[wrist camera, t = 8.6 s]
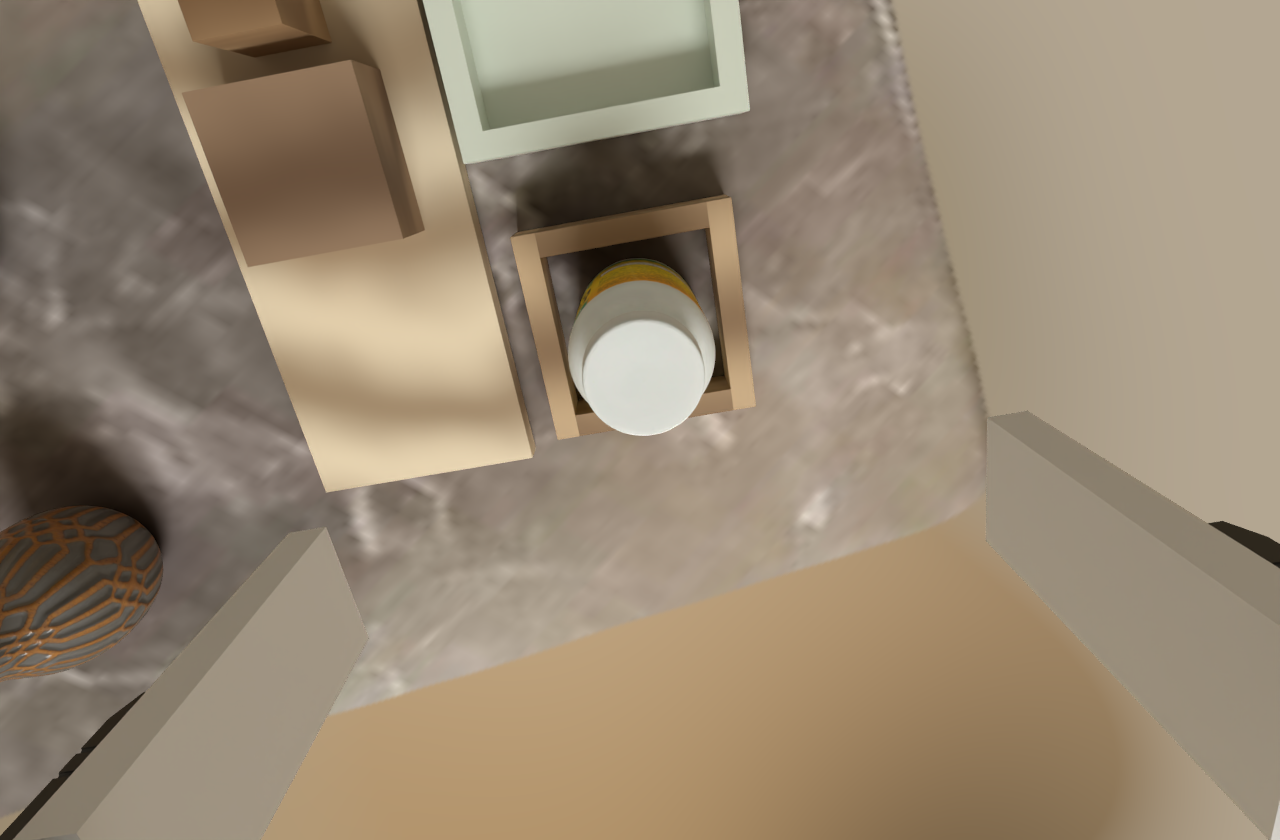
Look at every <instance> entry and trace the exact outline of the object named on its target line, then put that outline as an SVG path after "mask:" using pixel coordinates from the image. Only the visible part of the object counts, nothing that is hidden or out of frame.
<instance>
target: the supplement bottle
mask: <svg viewBox="0 0 1280 840" xmlns="http://www.w3.org/2000/svg"><path fill="white" fill-rule="evenodd" d="M568 361H569V368H570V372H571V375H572V378H573V381H574V383H575V385H576V387H577V389H578V391H579V392H580V394H581V395H582V397H583V398H584V399H585V400H586V401H587V402H588V403H589V405H590V407H591V408H592V410H593V411H594V413H595V414H596V415H597V416H598V417H599V418H600V419H601V420H602V421H603V422H604V423H606V424H607V425H609V426H610V427H612V428H614V429H616V430H618V431H620V432H623V433H627V434H631V435H639V436H648V435H655V434H660V433H663V432H666V431H668V430H671V429H673V428H674V427H676V426H677V425H679V424H681V423H682V422H683V421H684V420H686V419H687V418H688V417H689V416H690V414H691V413H692V412H693V411H694V409H695V408H696V406H697V405H698V403H699V401H700V398H701V396H702V394H703V393H704V391H705V390H706V388H707V386H708V384H709V382H710V379H711V377H712V373H713V370H714V365H715V343H714V337H713V334H712V330H711V327H710V325H709V323H708V321H707V318H706V317H705V315H704V313H703V311H702V309H701V307H700V306H699V304H698V302H697V300H696V298H695V296H694V294H693V292H692V290H691V289H690V287H689V285H688V284H687V283H686V281H685V280H684V279H683V278H682V277H681V276H680V275H679V274H678V273H677V272H675V271H674V270H673V269H671V268H670V267H668V266H667V265H665V264H663V263H660V262H658V261H655V260H652V259H646V258H631V259H624V260H621V261H618V262H615V263H613V264H611V265H610V266H608V267H606V268H605V269H604V270H602V271H601V272H600V273H599V274H598V275H597V276H596V277H595V278H594V279H593V280H592V281H591V283H590V284H589V285H588V287H587V288H586V290H585V292H584V294H583V297H582V299H581V302H580V305H579V309H578V312H577V315H576V318H575V321H574V325H573V328H572V331H571V334H570V339H569V345H568Z"/></svg>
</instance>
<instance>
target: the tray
mask: <svg viewBox="0 0 1280 840" xmlns="http://www.w3.org/2000/svg"><path fill="white" fill-rule="evenodd" d="M423 4H424V8H425V12H426V16H427V20H428V24H429V28H430V32H431V36H432V40H433V44H434V48H435V52H436V56H437V59H438V63H439V67H440V71H441V75H442V79H443V83H444V87H445V91H446V95H447V99H448V103H449V107H450V111H451V115H452V119H453V123H454V127H455V131H456V135H457V139H458V143H459V147H460V151H461V155H462V159H463V163H464V164H472V163H480V162H486V161H491V160H496V159H502V158H507V157H512V156H518V155H523V154H528V153H534V152H539V151H544V150H550V149H555V148H561V147H566V146H571V145H577V144H582V143H587V142H593V141H598V140H603V139H609V138H614V137H619V136H625V135H630V134H635V133H641V132H646V131H652V130H657V129H662V128H668V127H673V126H678V125H684V124H689V123H694V122H700V121H705V120H710V119H716V118H721V117H726V116H732V115H737V114H741V113H744V112H747V111H750V106H749V97H748V87H747V77H746V68H745V58H744V48H743V39H742V29H741V19H740V10H739V0H423Z"/></svg>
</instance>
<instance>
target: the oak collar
mask: <svg viewBox="0 0 1280 840" xmlns="http://www.w3.org/2000/svg"><path fill="white" fill-rule="evenodd" d="M704 228H705V232H706V240H707V247H708V255H709V262H710V270H711V277H712V285H713V292H714V300H715V307H716V315H717V322H718V330H719V337H720V345H721V352H722V360H723V367H724V376H718V377H712V378H711V379H710V382H709V384H708V386H707V388H706V390H705V391H704V393H703V394H702V396H701V398H700V401H699V403H698V405H697V406H696V408H695V409H694V411H693V412H692V413H691V414H690V416H689V417H688V418H690V417H695V416H701V415H707V414H713V413H719V412H725V411H731V410H737V409H743V408H749V407H755V406H756V403H755V395H754V386H753V378H752V369H751V361H750V352H749V344H748V335H747V327H746V318H745V310H744V301H743V293H742V284H741V276H740V267H739V259H738V250H737V242H736V233H735V225H734V216H733V208H732V199H731V197H729V196H727V195H719V196H714V197H708V198H703V199H697V200H692V201H686V202H681V203H675V204H670V205H664V206H659V207H653V208H648V209H642V210H637V211H631V212H626V213H620V214H615V215H609V216H604V217H598V218H593V219H587V220H582V221H576V222H571V223H565V224H560V225H554V226H549V227H543V228H538V229H532V230H527V231H521V232H517V233H516V234H514V235H513V236H512V237H510V239H511V243H512V247H513V252H514V256H515V260H516V264H517V269H518V273H519V277H520V281H521V285H522V290H523V294H524V298H525V302H526V307H527V311H528V315H529V319H530V324H531V328H532V332H533V336H534V341H535V345H536V349H537V353H538V357H539V362H540V366H541V370H542V374H543V379H544V383H545V387H546V391H547V396H548V400H549V404H550V408H551V413H552V417H553V421H554V425H555V429H556V434H557V438H558V440H559V439H565V438H571V437H577V436H583V435H589V434H595V433H601V432H607V431H613V430H616V429H614V428H612V427H610V426H609V425H607V424H606V423H604V422H603V421H602V420H601V419H600V418H599V417H598V416H597V415H596V414H595V413H594V411H593V410H592V408H591V407H590V405H589V403H588V402H587V401H586V400H585V399H584V400H578V399H577V394H576V390H575V385H574V381H573V378H572V375H571V372H570V368H569V361H568V353H567V348H566V344H565V339H564V335H563V330H562V326H561V321H560V317H559V312H558V307H557V303H556V298H555V294H554V289H553V285H552V280H551V276H550V271H549V266H548V262H547V257H549V256H554V255H560V254H565V253H571V252H577V251H582V250H588V249H593V248H599V247H604V246H610V245H615V244H621V243H626V242H632V241H638V240H643V239H649V238H654V237H660V236H665V235H671V234H676V233H682V232H687V231H693V230H699V229H704Z"/></svg>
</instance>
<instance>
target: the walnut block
mask: <svg viewBox="0 0 1280 840" xmlns="http://www.w3.org/2000/svg"><path fill="white" fill-rule="evenodd" d="M182 96H183V98H184V101H185V103H186V106H187V109H188V111H189V114H190V117H191V119H192V122H193V125H194V127H195V130H196V132H197V135H198V138H199V140H200V143H201V146H202V148H203V151H204V153H205V156H206V159H207V161H208V164H209V167H210V169H211V172H212V174H213V177H214V180H215V182H216V185H217V188H218V190H219V193H220V195H221V198H222V201H223V203H224V206H225V209H226V211H227V214H228V217H229V219H230V222H231V224H232V227H233V230H234V232H235V235H236V238H237V240H238V243H239V245H240V248H241V251H242V253H243V256H244V259H245V261H246V264H247V266H248V267H252V266H258V265H263V264H269V263H274V262H279V261H285V260H290V259H296V258H301V257H307V256H312V255H318V254H323V253H328V252H334V251H339V250H345V249H350V248H356V247H361V246H367V245H372V244H377V243H383V242H388V241H394V240H399V239H404V238H406V237H409V236H412V235H414V234H417V233H419V232H422V231H424V230H425V228H424V224H423V221H422V217H421V214H420V210H419V207H418V203H417V199H416V196H415V192H414V189H413V185H412V182H411V178H410V174H409V171H408V167H407V164H406V160H405V157H404V153H403V150H402V146H401V142H400V139H399V135H398V132H397V128H396V125H395V121H394V117H393V114H392V110H391V107H390V103H389V100H388V96H387V92H386V89H385V85H384V82H383V78H382V75H381V71H380V69H377V68H374V67H371V66H368V65H365V64H362V63H359V62H356V61H353V60H346V61H341V62H336V63H331V64H326V65H321V66H316V67H311V68H305V69H300V70H295V71H290V72H285V73H280V74H275V75H270V76H265V77H259V78H254V79H249V80H244V81H239V82H234V83H229V84H224V85H218V86H213V87H208V88H203V89H198V90H193V91H188V92H183V93H182Z"/></svg>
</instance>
